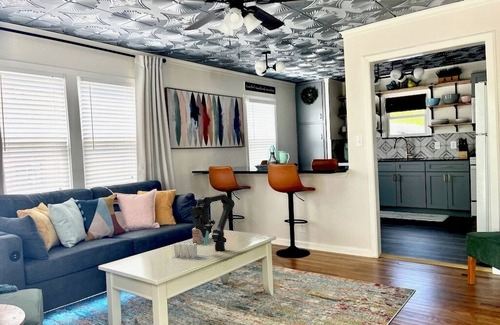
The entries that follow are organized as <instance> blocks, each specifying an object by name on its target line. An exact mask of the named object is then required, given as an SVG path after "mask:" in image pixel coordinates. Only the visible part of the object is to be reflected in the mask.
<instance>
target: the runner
mask: <svg viewBox="0 0 500 325" xmlns="http://www.w3.org/2000/svg"><path fill="white" fill-rule="evenodd" d="M210 257H211V255H207V254H206V255H205V254H204V255H201V254H197V257H195V258H192V256H190V257H189V258H186V256H184V257H180V256H178V257H175V255H173V257H171V259H181V260H182V259H183V260H200V261H202V260H204V261H205V260H206V259H209V258H210Z"/></svg>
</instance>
